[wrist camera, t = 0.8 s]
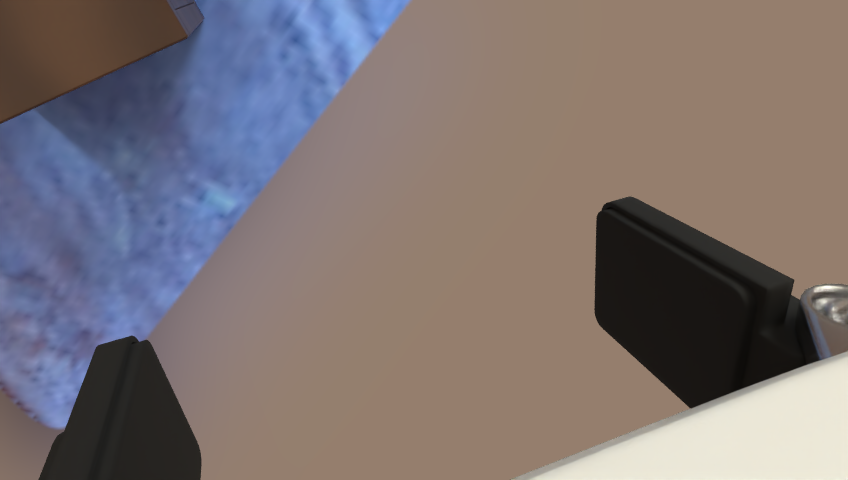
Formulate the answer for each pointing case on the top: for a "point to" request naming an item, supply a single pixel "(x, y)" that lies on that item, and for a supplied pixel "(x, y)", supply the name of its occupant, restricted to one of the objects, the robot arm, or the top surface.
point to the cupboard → (80, 43)
